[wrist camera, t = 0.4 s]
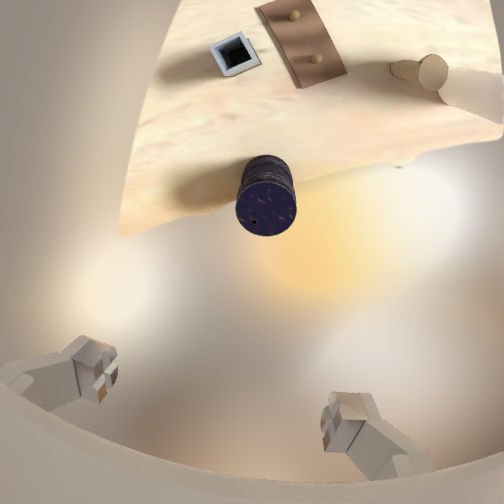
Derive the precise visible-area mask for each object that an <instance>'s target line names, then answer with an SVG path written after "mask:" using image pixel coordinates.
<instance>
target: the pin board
mask: <svg viewBox="0 0 504 504" xmlns="http://www.w3.org/2000/svg"><path fill="white" fill-rule="evenodd" d="M260 9H261V11H262V13H263V14H264V16H265V18H266V20H267V21H268V23H269V25H270V27H271V28H272V30H273V32H274V34H275V36H276V38H277V39H278V41H279V43H280V45H281V47H282V49H283V51H284V53H285V55H286V57H287V59H288V61H289V63H290V65H291V67H292V69H293V71H294V73H295V75H296V77H297V79H298V81H299V83H300V85H301V87H302V89H303V88H306V87H309V86H311V85H314V84H317V83H320V82H323V81H326V80H329V79H332V78H335V77H338V76H341V75H344V74H347V72H346V70H345V68H344V65H343V63H342V61H341V59H340V57H339V54H338V52H337V50H336V48H335V46H334V44H333V42H332V40H331V38H330V36H329V34H328V32H327V30H326V28H325V26H324V24H323V22H322V20H321V18H320V16H319V14H318V13H317V11H316V9H315V7H314V5H313V4H312V2H311V0H277V1H274V2H271V3H269V4H266V5H263V6H261V7H260Z"/></svg>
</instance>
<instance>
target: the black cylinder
mask: <svg viewBox="0 0 504 504" xmlns="http://www.w3.org/2000/svg"><path fill="white" fill-rule="evenodd" d="M235 209H236V216H237V219H238V220H239V222H240V224H241V225H242V226H243V227H244V228H245V229H246V230H247V231H249V232H251V233H253V234H255V235H259V236H274V235H278V234H280V233H282V232H284V231H285V230H287V229H288V228H289V227H290V226H291V225H292V223H293V222H294V219H295V217H296V212H297V207H296V196H295V191H294V188H293V179H292V175H291V172H290V169H289V167H288V165H287V164H286V163H285V162H284V161H283V160H282V159H280V158H278V157H276V156H273V155H261V156H258V157H256V158H254V159H252V160H251V161H250V162H249V163H248V164H247V166H246V168H245V170H244V173H243V176H242V180H241V186H240V188H239V191H238V195H237V201H236V207H235Z"/></svg>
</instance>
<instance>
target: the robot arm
mask: <svg viewBox="0 0 504 504" xmlns="http://www.w3.org/2000/svg"><path fill="white" fill-rule="evenodd" d="M116 357H117V353H116V349H115V347H113V346H111V345H108V344H105V343H102V342H100V341H97V340H95V339H92V338H89V337H86V336H84V335H81V336H79V337H78V338H77V339H76V340H74V341H73V342H72V343H71V344H70V345H69V346H68V347H66V348H65V349H64V350H63V351H62V352H61V353H60V354H59V353H57V352H56V353H52V354H47V355H42V356H37V357H33V358H27V359H22V360H17V361H12V362H8V363H7V364H6V365H5V366H3V367H2V368H1V369H0V504H504V452H500V453H497V454H494V455H491V456H488V457H485V458H482V459H479V460H476V461H473V462H470V463H466V464H462V465H459V466H455V467H451V468H447V469H443V470H438V471H437V470H436V468H435V466H434V464H433V462H432V459H431V457H430V455H429V453H428V451H427V450H426V449H425V448H423V447H422V446H420V445H419V444H418V443H416V442H415V441H413V440H412V439H410V438H409V437H407V436H406V435H405V434H403V433H402V432H401V431H399V430H398V429H397V428H395V427H394V426H392V425H391V424H390V423H388V422H387V421H385V420H382V419H381V416H380V414H379V412H378V409H377V407H376V404H375V402H374V399H373V397H372V395H371V394H370V393H346V392H332V393H331V394H330V397H329V399H328V400H329V405H328V406H327V407H325V408H324V411H323V413H322V417H321V431H322V432H323V433H324V434H325V435H324V437H323V445H324V451H325V452H339V453H346V455H347V456H348V457H349V458H350V459H351V460H352V461H353V463H354V464H355V465H356V466H357V467H358V468H359V469H360V470H361V472H362V473H363V474H364V475H365V476H366V477H367V478H368V479H369V480H370V481H360V482H339V483H312V482H288V481H276V480H265V479H256V478H248V477H242V476H235V475H229V474H223V473H218V472H213V471H208V470H203V469H198V468H194V467H189V466H186V465H182V464H178V463H174V462H170V461H167V460H163V459H160V458H157V457H153V456H150V455H147V454H144V453H141V452H138V451H135V450H132V449H130V448H127V447H124V446H122V445H119V444H116V443H114V442H111V441H109V440H106V439H104V438H101V437H99V436H97V435H94V434H92V433H90V432H87V431H86V430H83V429H81V428H79V427H77V426H75V425H73V424H71V423H69V422H67V421H65V420H63V419H61V418H59V417H57V416H55V415H53V414H52V413H50V412H49V411H52V410H54V409H56V408H58V407H61V406H63V405H65V404H68V403H70V402H72V401H74V400H76V399H79V398H80V397H83V398H85V399H88V400H90V401H93V402H95V403H98V404H100V402H101V401H102V400H103V398H104V397H105V396H106V394H107V392H106V389H108V388H110V387H112V386H113V385H114V383H115V381H116V378H117V374H118V365H117V364H116V362H115V361H114V359H115V358H116Z"/></svg>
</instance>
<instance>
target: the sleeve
mask: <svg viewBox="0 0 504 504" xmlns="http://www.w3.org/2000/svg"><path fill="white" fill-rule="evenodd" d="M243 46H245V47H246V49H247V51H248V53H249V55H250V56H251V58H252V59H251V60H248V61H246V62H244V63H242V64H239V65H237V66H235V67H234V66H233V64H232V62H231V60H230V59H229V57H228V55H227V54H228V53H230V52H232V51H234V50H236V49H238V48H241V47H243ZM209 49H210V51H211V53H212V54H213V56H214V58H215V60H216V62H217V63H218V65H219V67H220V69H221V71H222V72H223V74H224V76H233V77H235V76H237V75H239V74H241V73H243V72H246V71H248V70H250V69H252V68H255V67H257V66H259V65H262V63H261V61H260V59H259V58H258V56H257V54H256V52H255V50H254V48H253V47H252V45H251V43H250V41H249V39H248V38H247V39H246V37H245V36H244V34H243V33H242V31H241V32H239V33H236V34H234V35H232V36H230V37H228V38H226V39H224V40H221V41H219V42H217V43H215V44H213V45H211V46H209Z"/></svg>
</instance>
